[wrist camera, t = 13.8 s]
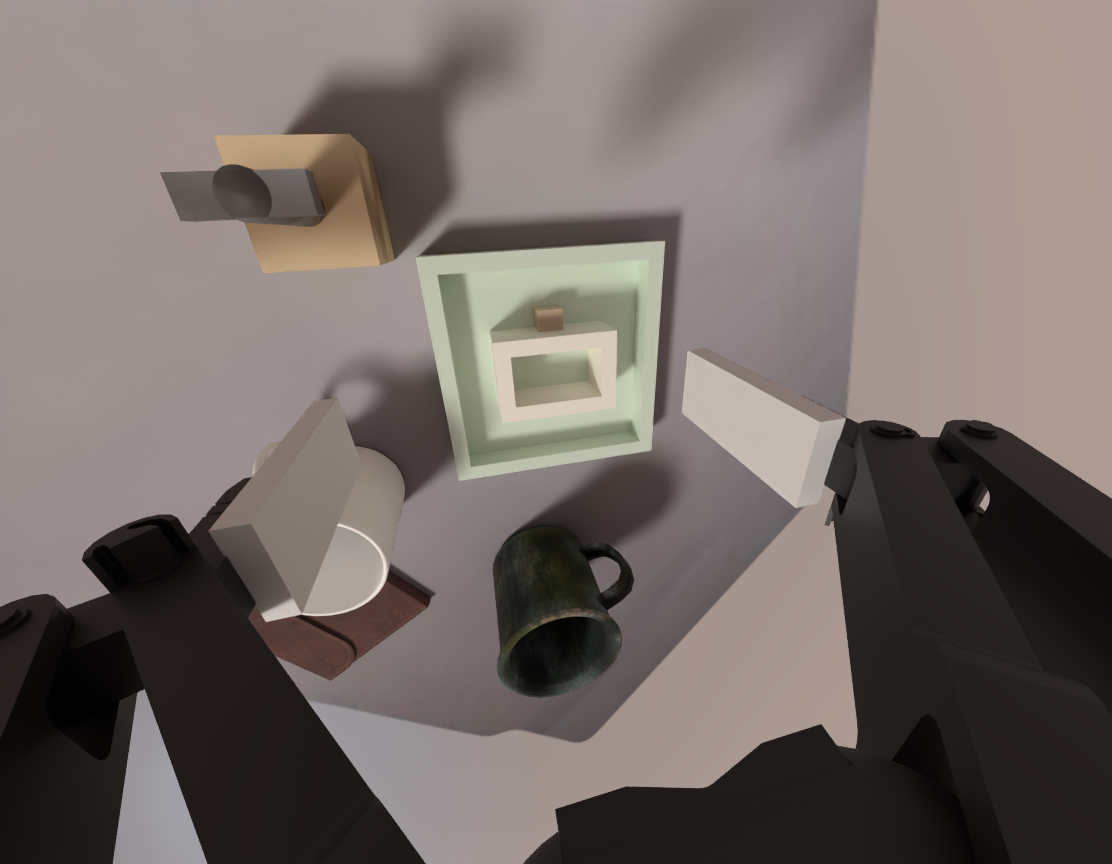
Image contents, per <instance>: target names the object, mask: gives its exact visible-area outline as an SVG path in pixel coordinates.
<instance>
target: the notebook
mask: <svg viewBox="0 0 1112 864" xmlns="http://www.w3.org/2000/svg"><path fill="white" fill-rule="evenodd" d="M429 603H430V597H428V596H427V595H425V594H424V593H422V592H421V591H419V590H418V589H416V588H415V587H413V586H412V585H410V584H408V583H407V582H405V581H404V580H402V579H401V578H399V577H398V576H396V575H395V574H393V573H392V572H390V571H388V576H387V579H386V582H385V584H384V586H383V587H382V589H381V590H380V591H379V593H378V594H377V595H376V596H375V597H374V598H372V599H371V600H370V601H369V602H367V603H366V604H364V605H362V606H360V607H358V608H356V609H354V610H351V611H348V612H345V613H341V614H335V615H327V616H310V615H302V614H301V615H297V616H292V617H287V618H283V619H278V620H273V621H269V622H266V621H265V620H264V618H263V616H262V615H261V613H260V612H259V610H258V609H257V607H256V605H255V606H254V608H253V610H252V612H251V614H250V616H249V618H248V619H249V620H250V622H251V623H252V625H253V626H254V627H255V629H256V630H257V632H258V633H259V634H260V636H261V637H262V639H263V640H264V641H265V643H266V644H267V646H268V647H269V648H270V650H271V651H272V653H273V654H274V655H275V656H276V657H279V658H281V659H283V660H285V661H288V662H290V663H292V664H294V665H297V666H299V667H301V668H303V669H306V670H308V671H310V672H312V673H315V674H317V675H319V676H321V677H324V678H326V679H328V680H330V681H331V680H332V679H334V678H335V677H337V676H338V675H339V674H341V673H342V672H343V671H345V670H346V669H347V668H349V666H350V665H351V664H352V663H353V662H354V661H356V660H357V659H358V658H360V657H361V656H363V655H364V654H365V653H367V652H368V651H369V650H371V649H372V648H373V647H375V646H376V645H377V644H379V643H380V642H381V641H383V640H384V639H385V638H387V637H388V636H390V635H391V634H392V633H394V632H395V631H396V630H398V629H399V628H400V627H402V626H403V625H404V624H406V623H407V622H408V621H410V620H411V619H413V618H414V617H415V616H417V615H418V614H419V613H421V612H422V611H423V610H425V609H426V608H427V607H428V606H429Z"/></svg>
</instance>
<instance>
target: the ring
mask: <svg viewBox="0 0 1112 864" xmlns="http://www.w3.org/2000/svg"><path fill="white" fill-rule="evenodd" d="M533 317H534V327H529V328H519V329H508V330H498V331H489V336H490V343H491V351H492V359H493V367H494V375H495V383H496V390H497V398H498V405H499V410H500V415H501V419H502V424H503V423H510V422H517V421H525V420H532V419H539V418H547V417H554V416H561V415H568V414H576V413H583V412H590V411H598V410H605V409H612V408H616V365H617V330H616V329H614V328H612V327H611V326H609V325H607V324H606V323H604V322H602V321H601V320H600V321H590V322H580V323H570V324H563V309H562V308H561V307H560V306H558V305H548V306H536V307H533ZM585 349H588V381H581V382H573V383H564V384H556V385H548V386H540V387H532V388H524V389H516V390H514V383H513V374H512V364H511V358H512V357H521V356H530V355H540V354H549V353H558V352H567V351H576V350H585Z"/></svg>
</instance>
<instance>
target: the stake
mask: <svg viewBox="0 0 1112 864" xmlns="http://www.w3.org/2000/svg"><path fill="white" fill-rule="evenodd" d="M214 139H215V142H216V144H217V147H218V150H219V153H220V155H221V158H222V161H223V164H224V166H222V167H221V168H219V169H218V170H217V171H195V172H160V173H161V176H162V178H163V180H164V183H165V185H166V187H167V190H168V192H169V194H170V197H171V199H172V202H173V204H174V206H175V209H176V211H177V213H178V216H179V218H180V220H181V221H194V222H198V221H219V220H239V221H242V222H245V225H246V227H247V230H248V233H249V236H250V238H251V241H252V244H253V247H254V250H255V252H256V255H257V258H258V261H259V263H260V266H261V269H262V272H263V273H271V272H286V271H301V270H316V269H331V268H346V267H361V266H375V265H382V264H385V263H388V262H391V261H393V260H395V258H394V254H393V249H392V244H391V240H390V235H389V231H388V226H387V221H386V217H385V212H384V208H383V203H382V198H381V194H380V189H379V184H378V180H377V175H376V171H375V166H374V161H373V157H372V154H371V153H370V152H369V151H368V150H367V149H365V148H364V147H363V146H362V145H361V144H360V143H359V142H358V141H357V140H356V139H355V138H353V137H352V136H351V135H350V134H302V135H235V136H214Z"/></svg>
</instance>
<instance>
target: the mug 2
mask: <svg viewBox="0 0 1112 864" xmlns="http://www.w3.org/2000/svg"><path fill="white" fill-rule="evenodd" d="M598 557H608V558H611V559H613V560H614V561H616V562H617V563H618V564H619V566H620V569H621V573H620V576H619V579H618V580H617V581H616V582H615V583H614V584H613V585H612V586H611V587H610V588H608V589H607V590H605V591H604V592H602V593H600V590H599V588H598V585H597V583H596V580H595V578H594V575H593V573H592V570H591V567H590V565H589V562H588V561H589V560H592V559H594V558H598ZM493 577H494V587H495V598H496V608H497V619H498V630H499V640H500V654H499V657H498V660H497V673H498V676H499V678H500V680H501V682H502V683H503V684H504V686H505V687H507V688H508V689H509V690H511V691H513V692H514V693H517V694H520V695H523V696H528V697H552V696H558V695H562V694H566V693H569V692H572V691H575V690H577V689H579V688H582V687H584V686H586V685H587V684H589V683H591V682H592V681H594V680H595V679H597V678H598V677H599V676H601V675H602V674H603V673H604V672H605V671H606V670H607V669H608V668H609V667H610V666H611V665H612V664H613V662H614V661H615V660H616V658H617V656H618V654H619V652H620V649H621V645H622V635H621V630H620V628H619V626H618V624H617V623H616V622H615V621H614V619H612V618H611V617H610V616H609V613H608V611H607V610H608V609H610V608H611V607H613V606H614V605H616V604H617V603H619V602H620V601H621V600H622V599H624V598H625V597H626V596H627V595H628V594H629V593H630V592H631V590H632V586H633V582H634V577H633V574H632V570H631V568H630V566H629V564H628V563H627V561H626V560H625V559H624V558H623V556H622V555H621V554H620V553H619V552H618V551H616V550H615V549H614V548H612V547H611V546H610V545H607V544H604V543H593V544H590V545H587V546H584V547H582V545H581V542H580V541H579V540H578V538H577V537H576V536H575V535H573V534H572V533H570V532H569V531H566V530H564V529H561V528H558V527H552V526H540V527H535V528H531V529H527V530H525V531H523V532H520V533H519V534H517V535H515V536H514V537H512V538H511V539H510V540H508V542H507V543H506V544H505V545H504V546H503V547H502V548H501V550H500V551H499V552H498V554H497V556H496V558H495V561H494V564H493Z"/></svg>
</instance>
